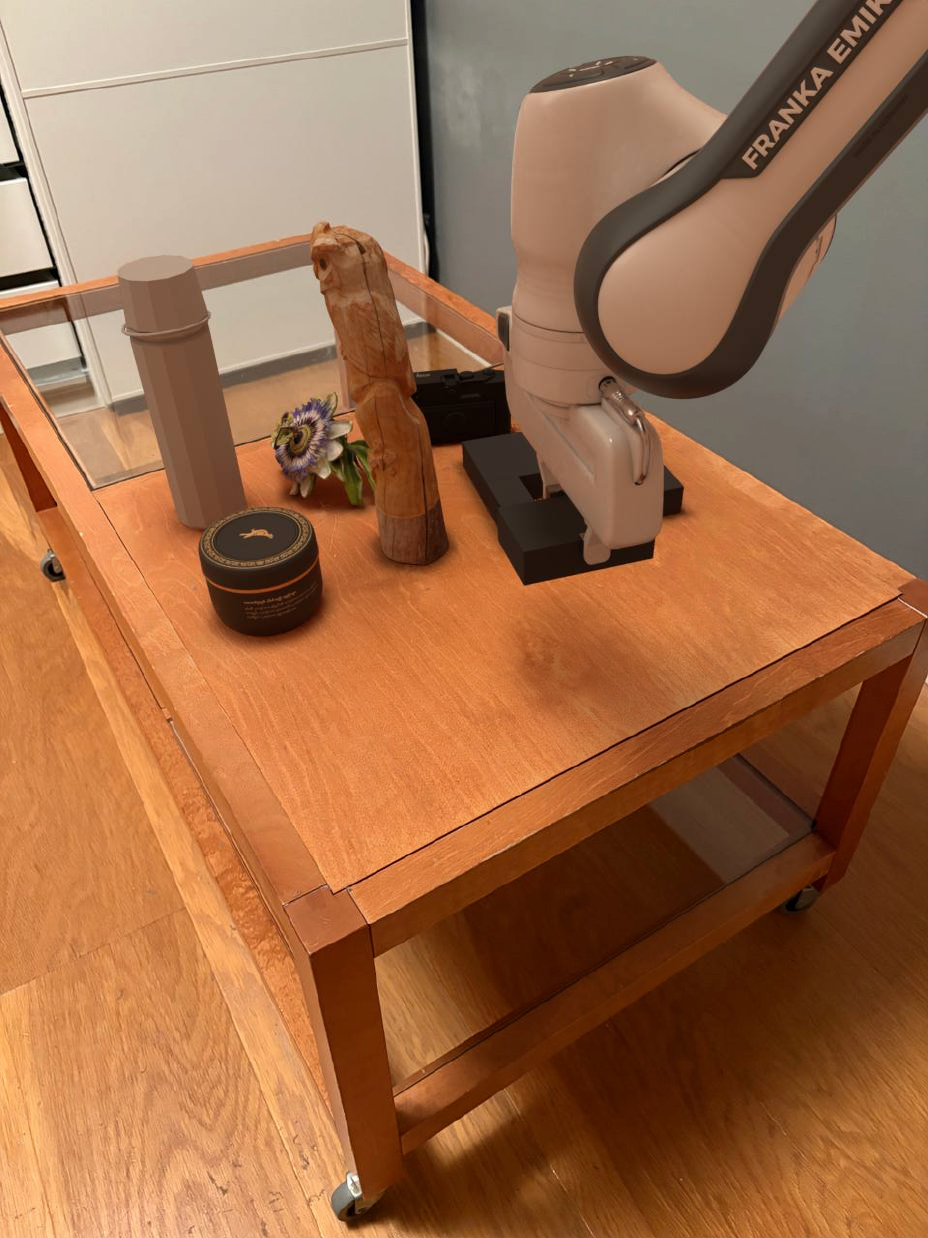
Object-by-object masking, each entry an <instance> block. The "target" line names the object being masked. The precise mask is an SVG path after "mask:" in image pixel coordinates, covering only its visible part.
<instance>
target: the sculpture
mask: <svg viewBox="0 0 928 1238" xmlns="http://www.w3.org/2000/svg"><path fill="white" fill-rule="evenodd" d="M309 249H310V260H311V261H312V262H313V263H312V271H313V274H314V276H315V279H316V280H318V281H319V289H320V290H319V291H320V294H321V295H322V296H323V297H324V303H325V307H326V310H327V312H328V316H329V319H330V321H331V324H332V325H333V328H334V329H335V331H336V334H337V337H338V339H339V343H340V345H339V353H340V355H341V357H342V360H343V361H344V363H345V367H346V373H347V384H348V391H349V394H350V400H352V401H353V402H354V403H356V406H355V408H354V416H355V419H356V422H357V425H358V428H359V431H360V433H361V435H362V437H363V439H365V441H366V443H367V444H368V446H369V447H370V448H371V450H370V451H368V457H367V461H368V466H369V469H370V473H371V476H372V479H373V480H374V482H375V483H376V485H375V491H374V493H373V495H374V508H375V512H376V517H377V525H378V532H379V537H380V538H379V539H380V544H381V549H382V551H383V553H384V554H385V556H386V557H387V558H388V559H391V560H392V561H395V562H398V563H403V564H408V565H409V564H411V565H419V566H425V565H429V564H430V563H433V562H435V561H436V560H437V559H438V558H439V557H441V556H442V555H443V554H445V553H446V552H447V550H448V549H449V547H450V540H449V537H448V532H447V528H446V524H445V518H444V513H443V506H442V502H441V501H442V499H441V496H440V490H439V483H438V477H437V471H436V466H435V461H434V453H433V447H432V446H431V442H430V436H429V431H428V427H427V423H426V420H425V418H424V415H423V413H422V412H421V411H420V409H419V408H418V406H417V405H416V404H415V402H414V401H413V400H412V399H411V395H412V394H414V393H415V392H416V390H417V388H416V383H415V378H414V373H413V372H414V371H413V366H412V363H411V362H412V361H411V357H410V352H409V347H408V346H409V345H408V341H407V338H406V332H405V329H404V325H403V321H402V320H401V319H402V318H401V316H400V313H399V310H398V305H397V302H396V297H395V292H394V289H393V284H392V282H391V280H390V277H389V271H388V270H389V269H388V262H387V259H386V257H385V254H384V251H383V248H382V247H381V245H380V243H379V242H378V241H377V240H376V239H375V238H374V237H373V236H372V235H369V233H367V232H364V231H361V230H358V229H355V228H352V227H346V226H345V227H344V226H340V227H337V228H332V227H331V224H330V222H328V221H326V220H320V221H318V222H317V223H316V224H315V225H314V226H313V228H312V231H311V236H310V245H309Z"/></svg>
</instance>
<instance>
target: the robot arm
mask: <svg viewBox="0 0 928 1238" xmlns="http://www.w3.org/2000/svg"><path fill="white" fill-rule="evenodd" d="M927 114H928V0H816V1H814V4H813V5H812V6H811V7H810V9H809V10H808V11H807V13H806V14H805V15H804V16H803V18H802V19H801V21H800V22H799V23H798V25H797V26H796V27H795V28H794V30H793V31H792V32H791V33H790V35H789V36H788V38H786V40H785V41H784V43H783V44H782V45H781V47H780V48H779V49H778V51H777V52H776V53H775V54H774V55H773V57H772V58H771V60H770V61H769V62H768V64H767V65H766V66H765V67H764V69H763V70H762V71H761V73H760V74H759V75H758V77H757V78H756V79H755V80H754V82H752V85H750V87H749V88H748V90H747V91H746V92H745V93H744V95H743V96H742V98H741V99H740V100H739V102H738V103H737V104H736V105H735V107H734V108H733V109H732V110H731V112H730V113H729V114H728V115H727V114H725V113H723V112H721V111H719V110H718V109H716V108H713V107H712V106H710V105H709V104H707V103H705V102H703V101H702V100H701V99H699V98H697V97H696V96H694V95H693V94H692V93H690V92H689V91H687V90H686V89H684V88H683V86H681V85H680V84H679V83H677V81H676V80H675V79H674V78H673V77H672V75H670V73H669V72H668V71H667V69H666V67H664V65H663V64H662V63H661V62H659V61H657V60H656V59H655V58H649V57H647V56H644V55H623V56H621V55H620V56H614V57H608V58H602V59H597V60H592V61H589V62H584V63H582V64H580V65H576V66H572V67H567V68H564V69H561V70H559V71H557V72H555V73H552V74H550V75H549V76H547V77H545V78H543V79H542V80H540V81H538V83H536V84H535V85H534V86H533V87H531V88H530V90H529V92H528V93H527V94H526V95H525V96H524V98H523V100H522V102H521V105H520V108H519V111H518V116H517V121H516V124H515V125H516V126H515V133H514V141H513V152H512V162H511V163H512V164H511V181H510V187H511V188H510V237H511V243H512V246H513V249H514V252H515V256H516V261H517V262H516V263H517V277H516V281H515V286H514V289H513V292H512V297H511V304H510V305H505V306H502V307H498V308H497V309H496V311H495V333H496V336H497V338H498V339H499V341H500V342H501V344H502V359H503V370H504V375H505V386H506V396H507V402H508V407H509V410H510V414H511V420H512V421H513V423H514V424H515V425H516V426H517V428H518V430H519V432H522V433H523V435H524V436H525V437H526V439H527V440H528V442H529V443H530V444H531V446H532V447H533V448H534V450H535V451H536V453H537V460H538V464H539V468H540V473H541V477H542V481H543V497H542V499H546V498H552V497H557V496H561V495H568V497H569V498H570V500H571V501H572V502H573V504H574V505H575V506H576V508H577V509H578V511H579V512H580V513H581V515H582V516H583V517H584V521H585V524H586V525H588V527H587V530H586V533H581V534H579V545H580V546H579V551H580V553H581V555H582V556H583V558H584V560H585V561H586V562H587V564H590V565H592V564H597V563H602V562H605V561H607V560H608V559H609V557H610V549H620V548H625V547H630V546H635V545H639V544H644V543H647V542H650V541H652V540H653V539H655V540H656V538H657V537H658V536H659V535H660V534H661V531H662V527H663V517H664V516H663V493H664V465H665V464H664V452H663V445H662V440H661V437H660V435H659V433H658V431H657V429H656V427H655V426H654V425H653V423H652V422H651V421H650V420H649V419H648V418H647V417H646V414H645V411H644V409H643V407H642V406H641V405H640V404H639V403H638V402H637V401H636V400H633V399H631V397H630V395H632V394H635V393H637V392H638V391H642V392H645V393H647V394H650V395H652V396H656V397H660V398H665V399H672V400H693V399H700V398H701V399H702V398H706V397H710V396H712V395H715V394H718V393H720V392H722V391H724V390H726V389H728V388H730V387H732V386H733V385H735V384H736V383H737V382H738V381H740V380H741V379H742V378H743V377H744V376H745V375H747V374H748V372H749V371H750V370H751V369H752V368H753V367H754V365H755V364H756V363H757V361H758V360H759V358H760V357H761V355H762V353H763V352H764V350H765V348H766V346H767V344H768V343H769V342H770V339H771V338H772V336H773V334H774V333H775V330H776V327H777V326H778V324H779V322H781V320H782V318H783V317H784V316H785V314H786V313H787V312H788V311H789V309H790V307H791V306H792V304H793V303H794V302H795V300H796V299H797V297H798V296H799V295H800V294H801V292H802V290H803V289H804V288H805V286H806V285H807V284H808V282H809V281H810V280H811V279H812V276H813V275H814V273H815V272H816V270H817V269H818V267H819V266H820V264H821V263H822V261H823V260H824V259H825V257H826V255H827V253H828V251H829V249H830V247H831V244H832V242H833V239H834V236H835V231H836V227H837V218H838V213H839V212H840V211H841V210H842V209H843V208H844V207H845V206H846V205H847V203H848V202H849V201H850V200H851V199H852V198H853V197H854V196H855V194H857V192H859V190H860V189H862V187H863V186H864V184H865V183H866V182H867V181H868V180H869V179H870V178H871V177H872V176H873V174H875V172H876V171H877V170H878V169H879V168H880V167H881V165H882V164H884V162H885V161H886V160H887V159H888V158H889V157H890V156H891V154H892V153H893V152H894V151H895V150H896V149H897V148H898V147H899V146H900V145H901V144H902V142H903V141H904V140H905V139H906V138H907V137H908V136H909V135H910V134H911V132H912V131H913V130H914V129H915V128H916V127H917V126H918V125H919V123H920V122H921V121H922V120H923V119H924V118H925V117H926V115H927Z"/></svg>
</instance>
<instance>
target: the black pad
mask: <svg viewBox="0 0 928 1238" xmlns="http://www.w3.org/2000/svg"><path fill="white" fill-rule="evenodd" d="M497 511H498V526H497V541H498V543H499V545H500V546H501V549H502V550H503V553H504V554H505V555H506V557H507V559H508V560H509V562H510V564H511V566H512V568H513V569H514V571H515V573H516V575H517V576H518V578H519V580H520V581H521V583H522V585H523V586H524V587H525V586H530V585H536V584H539V583H544V582H549V581H554V580H558V579H563V578H567V577H572V576H577V575H582V574H587V573H592V572H596V571H601V570H605V569H610V568H615V567H620V566H624V565H628V564H634V563H638V562H639V563H640V562H644V561H649V560H652V559H654V555H655V546H656V538H655V539H653V540H652V541H650V542H647V543H644V544H639V545H635V546H630V547H625V548H620V549H610V557H609V559H608V560H607V561H605V562H602V563H597V564H592V565H590V564H587V562H586V561H585V560H584V558H583V556H582V555H581V553H580V551H579V546H580V545H579V534H581V533H586V530H587V527H588V525H586V524H585V521H584V517H583V516H582V515H581V513H580V512H579V511H578V509H577V508H576V506H575V505H574V504H573V502H572V501H571V500H570V498H569V497H568V495H561V496H557V497H552V498H546V499H543V498H542V499H536V500H534V501H531V502H526V503H520V504H515V505H510V506H505V507H500V508H498V509H497Z"/></svg>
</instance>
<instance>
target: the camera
mask: <svg viewBox="0 0 928 1238" xmlns="http://www.w3.org/2000/svg"><path fill="white" fill-rule="evenodd" d="M413 373H414V378H415V383H416V388H417V390H416V392H415V393H414V394H412V395H411V399H412V400H413V401H414V402H415V404H416V405H417V406H418V408H419V409H420V411H421V412H422V413H423V415H424V418H425V420H426V423H427V427H428V431H429V436H430V442H431V447H432V446H434V447H435V446H442V445H443V446H444V445H453V444H462V442H463V441H469V440H475V439H481V438H487V437H493V436H498V435H504V434H510V433H512V417H511V414H510V410H509V407H508V402H507V396H506V386H505V375H504V369H495V368H492V367H486V368H483V369H482V370H480V371H471V370H462V371H461V372H459V371H458V369H457V368H456V367H453V368H446V369H445V368H444V369H435V370H424V371H413Z"/></svg>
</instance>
